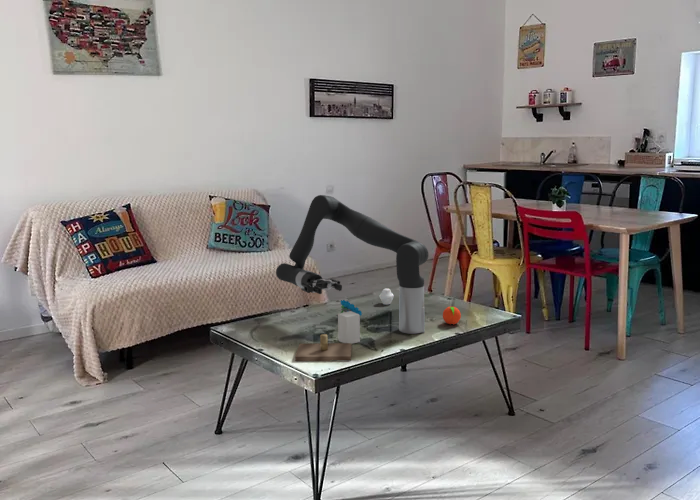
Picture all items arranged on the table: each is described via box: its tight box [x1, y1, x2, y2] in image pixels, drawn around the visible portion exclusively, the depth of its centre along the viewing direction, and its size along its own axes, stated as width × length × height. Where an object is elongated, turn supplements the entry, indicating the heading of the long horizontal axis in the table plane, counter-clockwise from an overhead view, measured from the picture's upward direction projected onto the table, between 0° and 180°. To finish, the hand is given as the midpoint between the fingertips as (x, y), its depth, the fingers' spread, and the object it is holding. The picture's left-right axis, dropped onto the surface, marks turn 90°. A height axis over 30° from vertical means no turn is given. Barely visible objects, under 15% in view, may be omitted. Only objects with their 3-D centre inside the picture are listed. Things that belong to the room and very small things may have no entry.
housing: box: [337, 311, 361, 345], centre depth 217 cm, size 6×6×10 cm
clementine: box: [442, 305, 462, 325], centre depth 235 cm, size 8×7×7 cm
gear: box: [340, 299, 363, 316], centre depth 247 cm, size 11×6×10 cm
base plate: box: [294, 333, 353, 362], centre depth 205 cm, size 18×13×6 cm
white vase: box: [379, 288, 395, 306], centre depth 266 cm, size 6×6×7 cm
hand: (331, 289), depth 225 cm, fingers open, 8 cm apart
